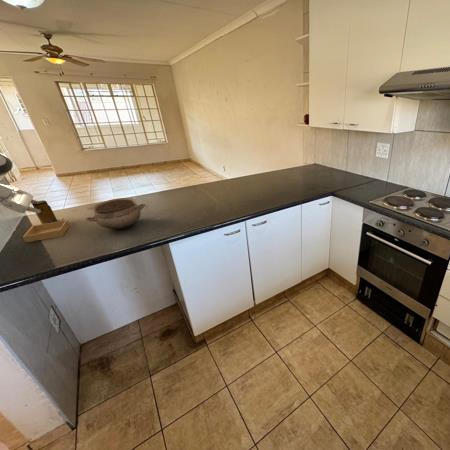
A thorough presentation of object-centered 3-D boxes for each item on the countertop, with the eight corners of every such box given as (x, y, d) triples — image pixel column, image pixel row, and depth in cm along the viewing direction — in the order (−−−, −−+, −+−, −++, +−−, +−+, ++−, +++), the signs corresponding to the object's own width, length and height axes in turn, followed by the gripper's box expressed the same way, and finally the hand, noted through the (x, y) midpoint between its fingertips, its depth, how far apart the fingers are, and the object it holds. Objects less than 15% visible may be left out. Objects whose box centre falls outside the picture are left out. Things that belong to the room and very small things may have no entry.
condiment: (41, 223, 129) (29, 201, 124) (62, 218, 134) (52, 197, 129) (41, 227, 124) (29, 206, 119) (63, 222, 130) (52, 201, 124)
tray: (26, 242, 112) (22, 236, 110) (35, 231, 121) (32, 225, 120) (63, 235, 117) (60, 229, 116) (69, 225, 127) (67, 219, 125)
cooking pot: (97, 242, 112) (86, 218, 106) (89, 228, 123) (79, 206, 118) (155, 224, 128) (148, 202, 122) (143, 213, 139) (137, 193, 134)
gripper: (1, 195, 108) (42, 210, 118) (11, 184, 122) (47, 197, 132) (-7, 207, 108) (34, 221, 118) (3, 194, 122) (40, 207, 132)
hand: (41, 208), depth 125 cm, fingers open, 8 cm apart
